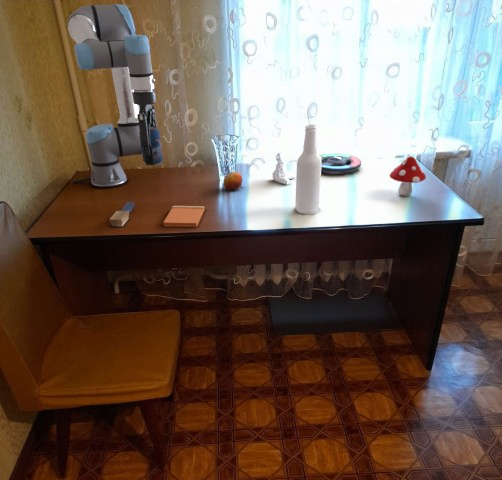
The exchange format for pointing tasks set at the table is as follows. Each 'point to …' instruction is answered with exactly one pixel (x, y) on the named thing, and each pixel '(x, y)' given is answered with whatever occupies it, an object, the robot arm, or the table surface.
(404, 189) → the decorative mushroom
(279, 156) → the white creature statuette
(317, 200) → the alcohol
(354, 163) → the electronic game
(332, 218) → the table surface
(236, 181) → the fruit
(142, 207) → the table surface
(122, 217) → the brush
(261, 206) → the table surface
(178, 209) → the orange flat block
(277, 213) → the table surface
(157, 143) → the soda can
